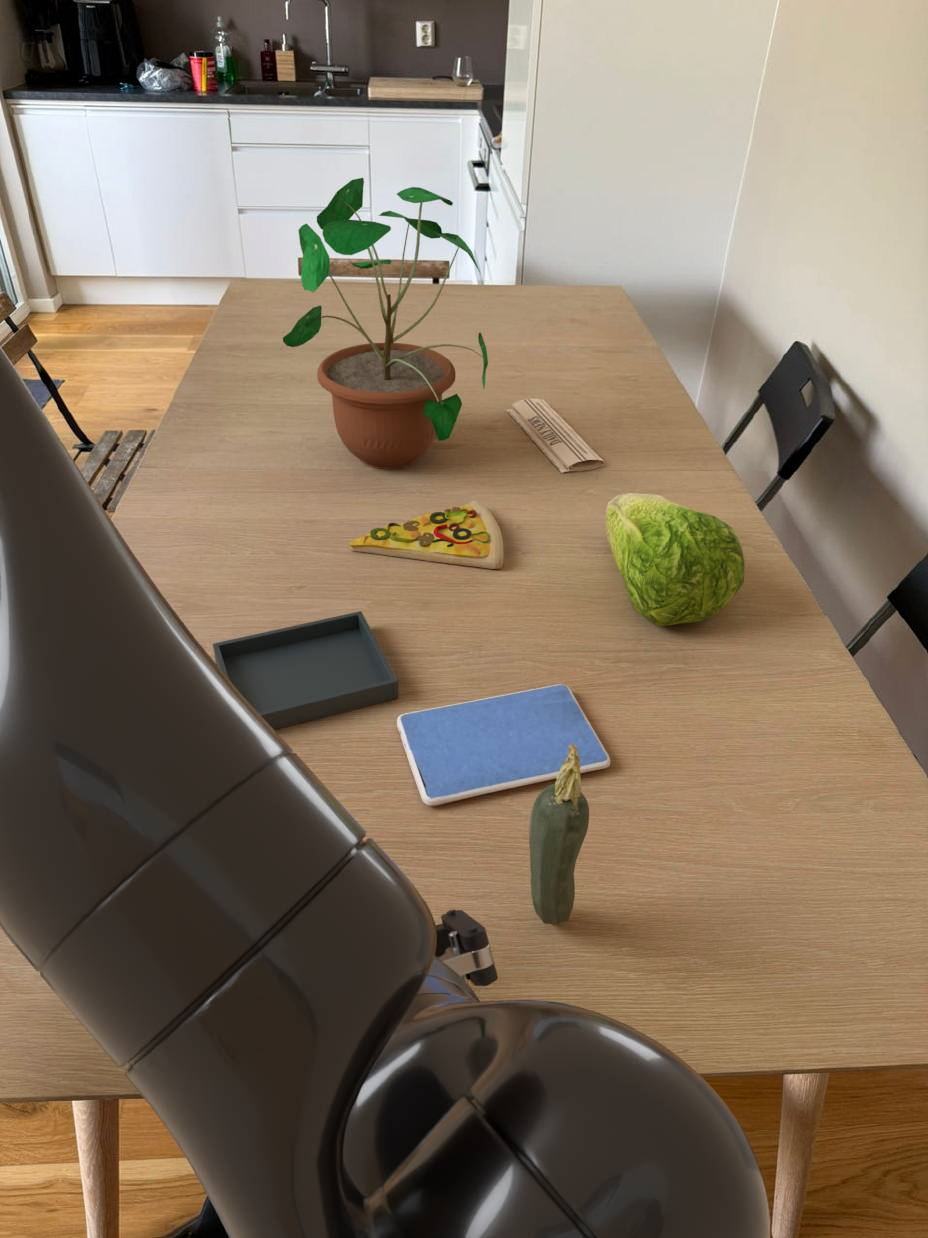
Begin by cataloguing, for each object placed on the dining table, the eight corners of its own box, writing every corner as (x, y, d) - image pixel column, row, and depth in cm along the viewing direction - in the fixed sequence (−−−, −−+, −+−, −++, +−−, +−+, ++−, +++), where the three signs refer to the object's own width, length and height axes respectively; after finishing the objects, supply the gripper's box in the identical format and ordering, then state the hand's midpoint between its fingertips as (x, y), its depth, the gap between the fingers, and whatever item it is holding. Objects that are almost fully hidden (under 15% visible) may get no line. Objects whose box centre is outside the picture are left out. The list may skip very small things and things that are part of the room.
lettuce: (569, 555, 124) (665, 554, 127) (634, 640, 103) (747, 636, 106) (583, 458, 118) (684, 459, 121) (656, 527, 97) (775, 526, 100)
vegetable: (555, 955, 72) (582, 789, 60) (509, 929, 74) (526, 763, 62) (579, 914, 75) (609, 749, 63) (534, 891, 77) (555, 726, 65)
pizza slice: (512, 569, 116) (514, 550, 114) (354, 583, 113) (352, 564, 111) (487, 509, 128) (488, 491, 126) (343, 520, 125) (342, 501, 123)
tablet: (424, 811, 84) (424, 802, 83) (394, 721, 93) (394, 711, 92) (612, 771, 89) (614, 762, 88) (565, 689, 98) (566, 680, 97)
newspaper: (603, 467, 139) (604, 457, 138) (561, 473, 137) (562, 463, 136) (543, 406, 157) (544, 396, 155) (506, 410, 155) (506, 401, 154)
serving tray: (239, 739, 91) (235, 721, 89) (215, 660, 100) (212, 643, 99) (398, 698, 96) (398, 681, 95) (362, 627, 106) (361, 610, 104)
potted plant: (518, 473, 137) (538, 195, 113) (336, 506, 128) (316, 211, 103) (445, 395, 159) (449, 149, 135) (286, 418, 150) (259, 158, 126)
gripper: (522, 891, 37) (426, 854, 53) (175, 1011, 33) (181, 933, 48) (569, 1070, 37) (458, 980, 52) (222, 1217, 32) (213, 1072, 48)
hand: (325, 957), depth 50 cm, fingers open, 8 cm apart
